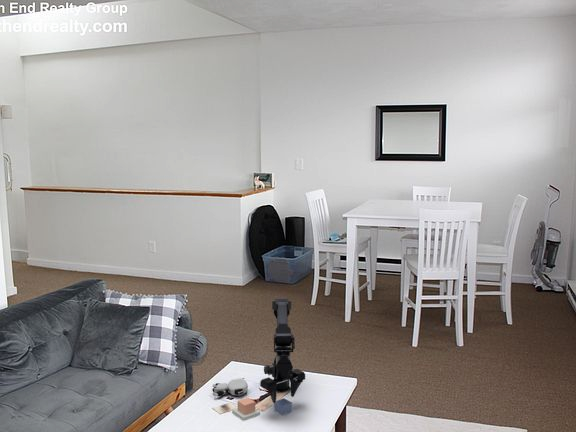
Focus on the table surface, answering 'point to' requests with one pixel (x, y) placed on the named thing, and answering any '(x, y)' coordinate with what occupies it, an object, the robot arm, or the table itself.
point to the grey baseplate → (247, 416)
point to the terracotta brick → (246, 406)
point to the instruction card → (225, 408)
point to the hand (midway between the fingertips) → (283, 399)
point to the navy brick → (283, 406)
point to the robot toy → (230, 387)
